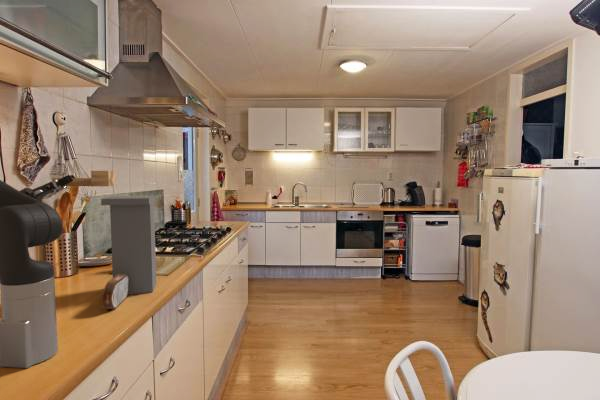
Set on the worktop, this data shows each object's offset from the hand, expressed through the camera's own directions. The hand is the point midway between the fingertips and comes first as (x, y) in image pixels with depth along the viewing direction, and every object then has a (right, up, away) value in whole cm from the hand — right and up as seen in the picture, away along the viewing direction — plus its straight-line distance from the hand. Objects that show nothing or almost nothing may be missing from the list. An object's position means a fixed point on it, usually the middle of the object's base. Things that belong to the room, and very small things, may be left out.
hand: (72, 177), depth 114 cm
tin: (+18, -40, -7) cm, 44 cm away
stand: (+16, -38, +7) cm, 42 cm away
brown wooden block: (+3, -3, +1) cm, 4 cm away
